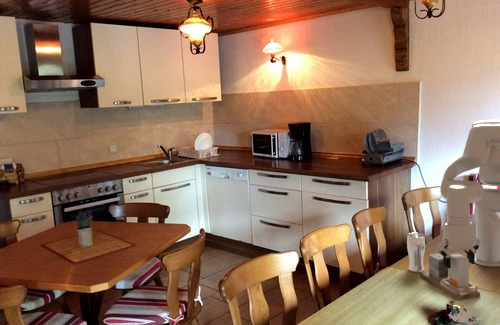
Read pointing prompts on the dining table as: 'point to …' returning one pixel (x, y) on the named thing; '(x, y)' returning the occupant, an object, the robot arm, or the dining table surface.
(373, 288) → the dining table surface
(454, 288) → the desk organizer
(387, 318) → the dining table surface
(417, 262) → the beer glass
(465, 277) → the skincare box
